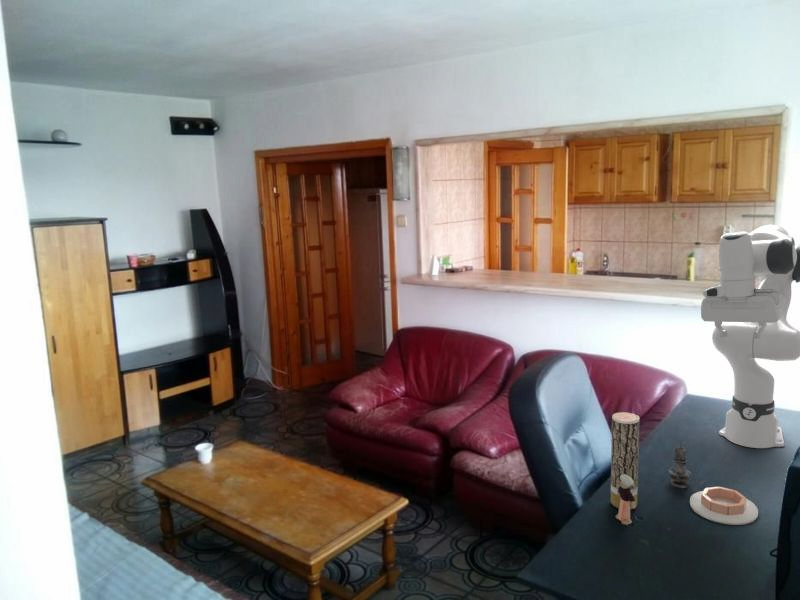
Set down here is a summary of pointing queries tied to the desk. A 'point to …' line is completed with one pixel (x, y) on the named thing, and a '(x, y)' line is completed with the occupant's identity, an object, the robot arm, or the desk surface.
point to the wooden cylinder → (624, 453)
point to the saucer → (723, 506)
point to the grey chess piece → (679, 469)
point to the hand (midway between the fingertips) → (740, 337)
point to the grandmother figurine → (625, 499)
